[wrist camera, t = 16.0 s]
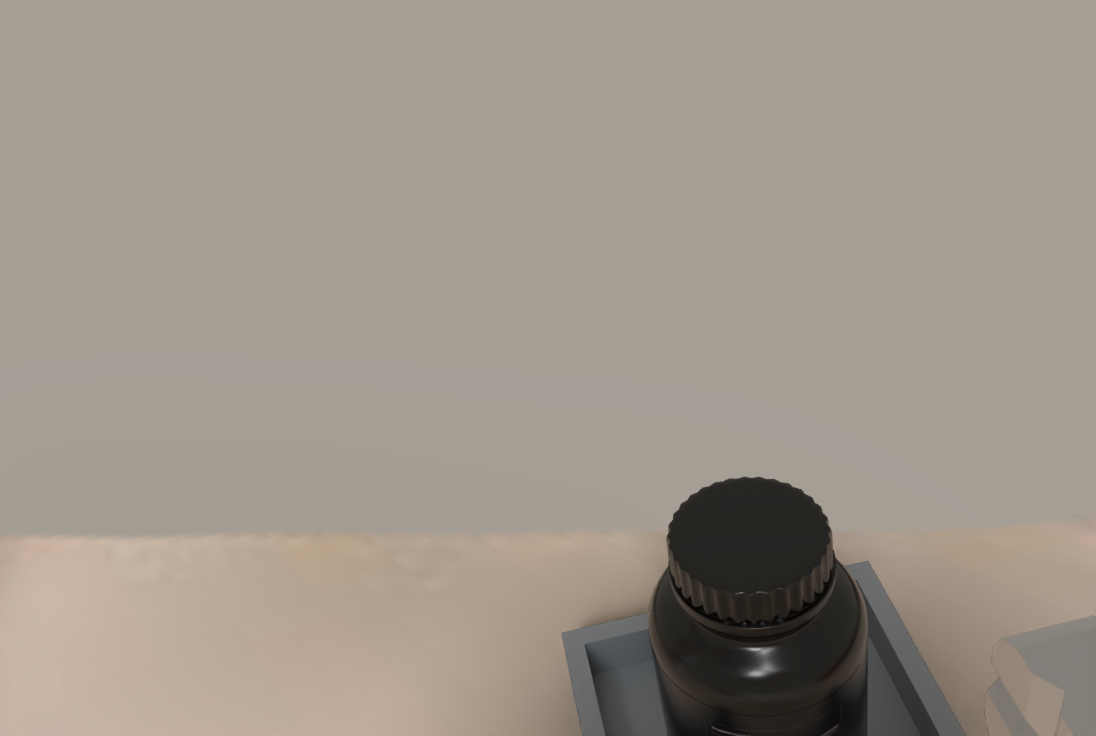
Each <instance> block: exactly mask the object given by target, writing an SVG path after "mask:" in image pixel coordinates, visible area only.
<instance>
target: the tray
mask: <svg viewBox="0 0 1096 736" xmlns="http://www.w3.org/2000/svg"><path fill="white" fill-rule="evenodd" d="M845 568H846V569H847V570H848V571H849V573H850V574H851V575H852V577H853V578H854V580H855V581H856V583H857V585H858V587H859V589H860V591H861V593H862V596H863V599H864V601H865V606H866V610H867V619H868V736H966V735H965V733H964V731H963V729H962V727H961V726H960V724H959V722H958V720H957V718H956V717H955V715H954V713H953V711H952V710H951V708H950V706H949V704H948V702H947V701H946V699H945V697H944V695H943V693H942V692H941V690H940V688H939V686H938V684H937V683H936V681H935V679H934V677H933V676H932V674H931V672H930V670H929V668H928V667H927V665H926V663H925V661H924V659H923V658H922V656H921V654H920V652H919V651H918V649H917V647H916V645H915V643H914V642H913V640H912V638H911V636H910V634H909V633H908V631H907V629H906V627H905V626H904V624H903V622H902V620H901V618H900V617H899V615H898V613H897V611H896V609H895V608H894V606H893V604H892V602H891V600H890V599H889V597H888V595H887V593H886V592H885V590H884V588H883V586H882V584H881V583H880V581H879V579H878V577H877V575H876V574H875V572H874V570H873V568H872V567H871V565H870V563H869V561H865V562H861V563H856V564H852V565H848V566H845ZM561 634H562V639H563V643H564V648H565V653H566V658H567V663H568V668H569V673H570V677H571V682H572V687H573V692H574V697H575V702H576V707H577V711H578V716H579V721H580V726H581V731H582V736H667V731H666V726H665V720H664V715H663V710H662V704H661V699H660V694H659V688H658V683H657V678H656V672H655V667H654V661H653V656H652V651H651V645H650V639H649V630H648V613H644V614H640V615H636V616H631V617H627V618H623V619H619V620H614V621H610V622H606V623H602V624H597V625H593V626H589V627H585V628H580V629H576V630H572V631H568V632H563V633H561Z"/></svg>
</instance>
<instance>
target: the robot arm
mask: <svg viewBox="0 0 1096 736" xmlns="http://www.w3.org/2000/svg"><path fill="white" fill-rule="evenodd" d="M991 664H992V666H993V667H994V669H995V671H996V672H997V674H998V676H999V677H1000V678H999V679H998V680H997V681H996V682H995V683H994V684H993V685H992V686H991V687H990V688H989V689H988V690H987V691H986V701H985V712H984V713H985V718H986V723H987V727H988V732H989V736H1096V616H1090V617H1086V618H1082V619H1078V620H1074V621H1070V622H1066V623H1062V624H1058V625H1054V626H1050V627H1046V628H1042V629H1038V630H1034V631H1030V632H1026V633H1022V634H1018V635H1014V636H1010V637H1006V638H1002V639H1000V640H999V641H998V642H997V643H996V644H995V645H994V646H993V652H992V658H991Z"/></svg>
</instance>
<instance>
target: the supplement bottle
mask: <svg viewBox="0 0 1096 736" xmlns="http://www.w3.org/2000/svg"><path fill="white" fill-rule="evenodd" d="M668 531H669V533H668V535H667V539H666V541H667V548H668V556H669V564H668V567H667V568H666V570H665V571H664V572H663V574H662V575H661V577H660V579H659V580H658V582H657V584H656V586H655V588H654V591H653V593H652V596H651V600H650V604H649V610H648V630H649V639H650V645H651V651H652V656H653V661H654V667H655V672H656V678H657V683H658V688H659V694H660V699H661V704H662V710H663V715H664V720H665V726H666V731H667V736H868V619H867V610H866V606H865V601H864V599H863V596H862V593H861V591H860V589H859V587H858V585H857V583H856V581H855V580H854V578H853V577H852V575H851V574H850V573H849V571H848V570H847V569H846V568H845V566H844V565H843V564H842V563H841V562H840V561H839V560H838V559H837V558H836V557H835V554H834V551H833V541H832V531H831V528H830V527H829V521H828V518H827V517H826V515H824V514H823V512H822V508H821V507H820V506H819V505H818V504H816V503H815V502H814V500H813V498H812V497H810V496H808V495H806V494H804V492H803V491H802V490H801V489H798V488H794V487H792V486H791V485H790V484H789V483H782V482H779V481H777V480H775V479H764V478H761V477H755V478H749V477H741V478H738V479H727V480H725V481H723V482H715V483H713V484H712V485H711V486H708V487H704V488H702V489H700V490H699V492H697V493H695V494H692V495H691V496H690V497H689V498H688V500H687V501H685V502H683V503H682V504H681V505H680V508H679V510H678V511H676V512H675V513H674V515H673V520H672V522H671V523H670V524H669V526H668Z"/></svg>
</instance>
